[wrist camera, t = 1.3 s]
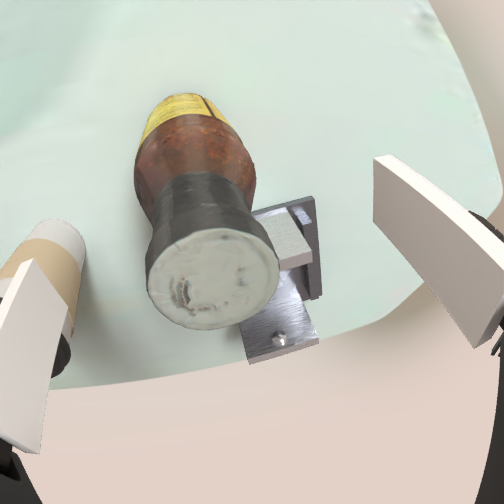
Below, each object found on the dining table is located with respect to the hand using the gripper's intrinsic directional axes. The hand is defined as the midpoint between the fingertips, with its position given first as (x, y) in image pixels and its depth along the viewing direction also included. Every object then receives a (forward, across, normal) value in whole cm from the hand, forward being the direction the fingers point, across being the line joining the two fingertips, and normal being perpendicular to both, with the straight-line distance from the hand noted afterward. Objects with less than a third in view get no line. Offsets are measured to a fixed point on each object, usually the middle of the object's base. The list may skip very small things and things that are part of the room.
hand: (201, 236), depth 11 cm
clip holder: (+18, +2, -17) cm, 25 cm away
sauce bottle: (+18, 0, 0) cm, 18 cm away
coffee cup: (+18, -18, -7) cm, 26 cm away
